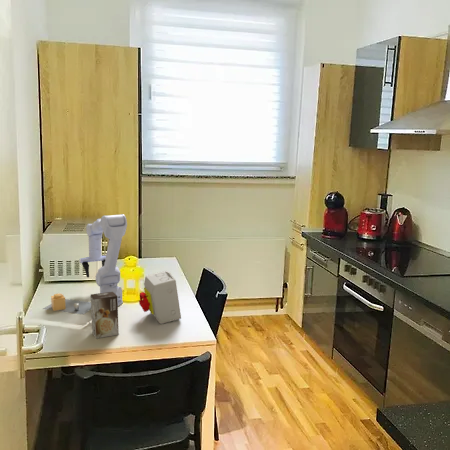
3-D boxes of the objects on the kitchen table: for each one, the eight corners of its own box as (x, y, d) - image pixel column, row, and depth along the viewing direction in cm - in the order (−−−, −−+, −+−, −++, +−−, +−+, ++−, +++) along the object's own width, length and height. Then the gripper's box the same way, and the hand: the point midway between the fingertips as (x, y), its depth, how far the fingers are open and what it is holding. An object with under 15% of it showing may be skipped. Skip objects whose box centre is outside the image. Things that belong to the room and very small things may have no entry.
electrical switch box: (139, 318, 216) (131, 275, 211) (171, 309, 221) (165, 267, 216) (147, 331, 203) (139, 286, 198) (181, 321, 208) (175, 277, 203)
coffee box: (114, 329, 199) (113, 290, 196) (119, 334, 194) (118, 295, 190) (91, 332, 195) (90, 294, 192) (95, 339, 189) (94, 299, 186)
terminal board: (100, 306, 223) (100, 303, 223) (83, 317, 210) (83, 314, 210) (61, 301, 228) (61, 298, 228) (42, 312, 215) (42, 308, 215)
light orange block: (63, 305, 220) (62, 292, 218) (65, 308, 215) (65, 295, 214) (51, 307, 217) (50, 294, 216) (53, 310, 213) (53, 297, 212)
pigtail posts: (80, 309, 215) (79, 303, 214) (77, 311, 213) (77, 304, 212) (57, 307, 217) (57, 300, 217) (55, 308, 216) (54, 302, 215)
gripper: (107, 245, 242) (108, 271, 244) (77, 248, 235) (78, 275, 237) (111, 248, 236) (112, 275, 238) (81, 251, 229) (82, 279, 231)
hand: (95, 275), depth 237 cm, fingers open, 7 cm apart
